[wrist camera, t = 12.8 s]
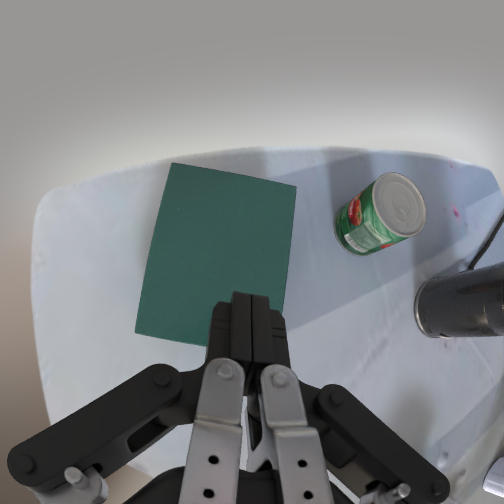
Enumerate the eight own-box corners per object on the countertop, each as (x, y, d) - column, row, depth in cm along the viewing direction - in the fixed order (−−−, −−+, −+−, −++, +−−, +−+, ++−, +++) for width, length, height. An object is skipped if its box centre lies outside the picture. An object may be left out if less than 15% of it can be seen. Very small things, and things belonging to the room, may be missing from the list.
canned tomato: (336, 197, 43) (373, 162, 32) (381, 212, 44) (425, 184, 33) (330, 249, 41) (371, 226, 30) (378, 262, 42) (426, 244, 31)
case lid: (172, 165, 29) (171, 162, 29) (294, 189, 31) (296, 186, 30) (136, 332, 25) (134, 332, 25) (274, 355, 27) (276, 356, 26)
